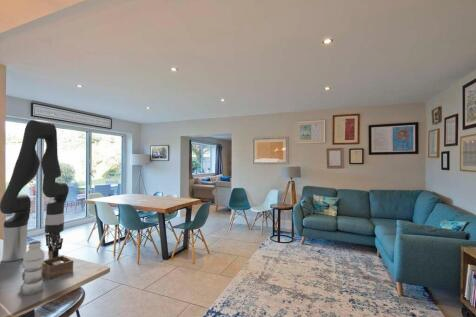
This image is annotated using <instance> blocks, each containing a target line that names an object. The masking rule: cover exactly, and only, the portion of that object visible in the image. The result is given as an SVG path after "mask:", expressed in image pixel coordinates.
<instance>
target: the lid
mask: <svg viewBox="0 0 476 317" xmlns="http://www.w3.org/2000/svg"><path fill="white" fill-rule="evenodd" d="M59 256H60V255H58V257H59ZM52 258H53V251H50V252H49V255H48V258H47V259H44V260H43V261H45V260H49V259H52Z"/></svg>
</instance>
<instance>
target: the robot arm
mask: <svg viewBox="0 0 476 317" xmlns="http://www.w3.org/2000/svg"><path fill="white" fill-rule="evenodd" d="M38 140H44V142H45V151H44V153H43V155H42V158H41V161H40V157H39V155H38V153H37V151H36V150H37V149H36V147H37V143H38ZM20 146H21V147H20V150H19V153H18V157H17V159H16V162H15V164H14V168H13V171H12V174H11V177H10V180H9V182H8V185H7V186H6V189H5V191H4V193H3V195H2V197H1V200H0V212H1V213H2V214H3V215H11V214H13V216H11V217H10V218H8V219H6V220H5V221H3V222H4V223H3V231H2V232H3V233H2V234H3V236H2V257H1V261H2V262H6V263H9V262H16V261H19V260H20V261H21V260H23V258H24V255H25V254H26V252H27V251H28V250H27V249H28V225H29V223H28V222H29V220H30V216H31V215H30V214H31V208H32V207H31V206H32V202H31V197H30V196H29V195H28V194H23V193H22V194H20V192H21V191H22V189H24V188H25V186H27V185H28V184H29V183H30V182H31V181H32V180H34V178H35V177H36V176H37V174H38V171H39V168H40V166H41V168H42V173H43V180H42V182H43V183H42V193H43V195H44V196H45V197H47V198H49V199H51V198H53V199H52V200H51V201H49V202H48V203H46V211H45V212H46V213H45V214H46V215H45V217H44V218H45V219H44V220H45V221H44V233H45V246H46V247H47V249H48V250H47V251H48V252H47V255H48V256H49V252H50V251H53V258H56V257H58V256H59V254H60V253H59V251H60V250H62V246H63V243H64V238H63V237H62V238H61V233H62V232H63V231H65V230H64V229H65V204H66V201H67V198H68V196H69V191H70V190H69V188H70V187H69V186H68V184H67V183H66V182H63V181H61V182H56V179H58V178H60V177H61V176H62V171H61V167H60V162H59V156H58V132H57V127H56V125H55V124H54V123H53V122H51V121H48V120H47V121H46V120H39V119H30V120H29V121H28V122H27V123H26V125H25V128H24V133H23V138H22V142H21V145H20ZM40 164H41V165H40Z"/></svg>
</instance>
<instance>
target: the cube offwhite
mask: <svg viewBox="0 0 476 317" xmlns="http://www.w3.org/2000/svg"><path fill="white" fill-rule="evenodd" d="M62 263H64V262H63V261H61V260H60V261H57V262H53V263H52V266H55V265H59V264H62Z"/></svg>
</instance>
